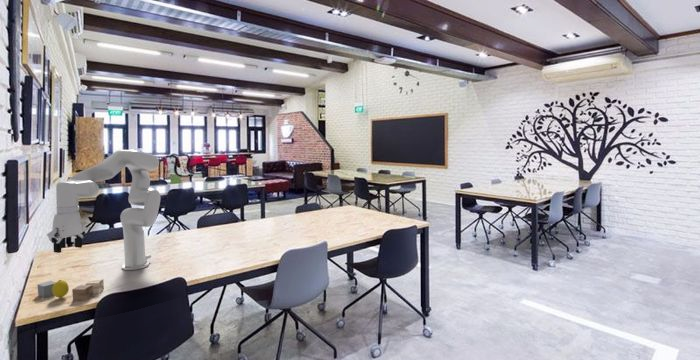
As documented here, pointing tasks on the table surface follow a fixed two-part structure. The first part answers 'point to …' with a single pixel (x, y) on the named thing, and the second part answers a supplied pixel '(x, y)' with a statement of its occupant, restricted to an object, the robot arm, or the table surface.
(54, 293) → the lemon
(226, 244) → the table surface
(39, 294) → the blue-grey cube
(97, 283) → the maple cube
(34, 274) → the table surface
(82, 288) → the walnut cube
